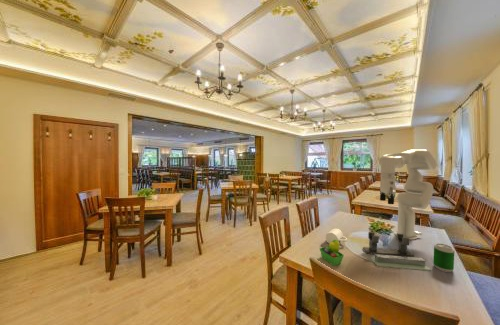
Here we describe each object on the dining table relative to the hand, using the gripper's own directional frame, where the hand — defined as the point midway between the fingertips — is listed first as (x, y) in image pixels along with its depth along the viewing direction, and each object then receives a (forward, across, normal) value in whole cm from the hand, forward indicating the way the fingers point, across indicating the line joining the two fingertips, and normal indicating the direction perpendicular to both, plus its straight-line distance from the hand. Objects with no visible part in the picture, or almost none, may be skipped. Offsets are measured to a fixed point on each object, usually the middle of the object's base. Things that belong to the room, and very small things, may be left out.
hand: (386, 202), depth 127 cm
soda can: (+28, -24, -16) cm, 41 cm away
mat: (+28, -23, +4) cm, 37 cm away
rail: (+28, -23, +4) cm, 36 cm away
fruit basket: (+29, -25, +39) cm, 54 cm away
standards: (+28, -11, +4) cm, 31 cm away
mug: (+29, -2, +30) cm, 41 cm away
